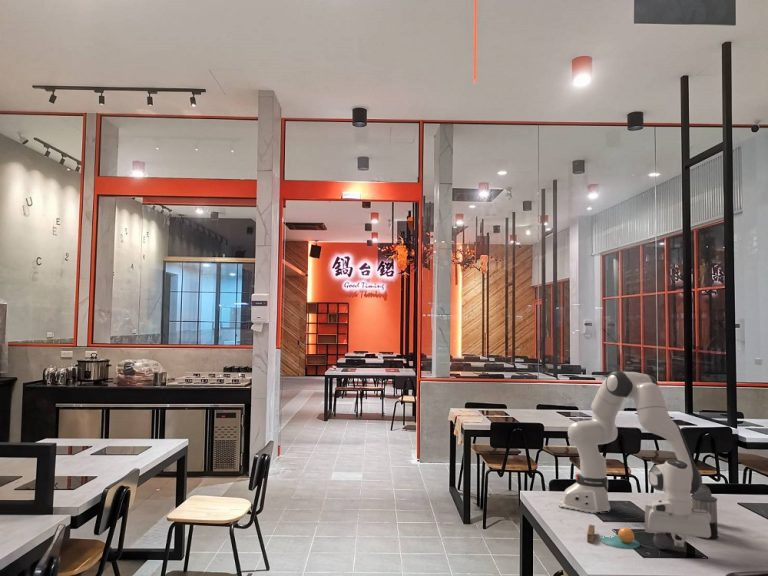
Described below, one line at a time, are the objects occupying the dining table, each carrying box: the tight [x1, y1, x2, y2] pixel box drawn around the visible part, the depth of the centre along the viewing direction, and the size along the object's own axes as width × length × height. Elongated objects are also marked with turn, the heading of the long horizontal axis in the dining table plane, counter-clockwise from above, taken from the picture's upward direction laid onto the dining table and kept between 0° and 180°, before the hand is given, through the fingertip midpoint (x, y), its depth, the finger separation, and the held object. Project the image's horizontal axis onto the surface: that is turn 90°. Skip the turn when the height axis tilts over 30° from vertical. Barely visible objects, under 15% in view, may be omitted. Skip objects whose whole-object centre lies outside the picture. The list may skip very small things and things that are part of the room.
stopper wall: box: [586, 524, 596, 544], centre depth 216 cm, size 2×12×3 cm, turn 157°
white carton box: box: [644, 504, 667, 535], centre depth 223 cm, size 4×7×10 cm, turn 53°
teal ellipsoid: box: [599, 534, 641, 550], centre depth 212 cm, size 14×14×1 cm
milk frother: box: [690, 494, 720, 541], centre depth 224 cm, size 14×16×15 cm
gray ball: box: [652, 533, 671, 550], centre depth 206 cm, size 6×6×6 cm
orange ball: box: [617, 526, 635, 543], centre depth 211 cm, size 6×6×6 cm
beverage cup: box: [691, 483, 712, 496], centre depth 238 cm, size 7×7×20 cm
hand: (679, 546), depth 204 cm, fingers closed
